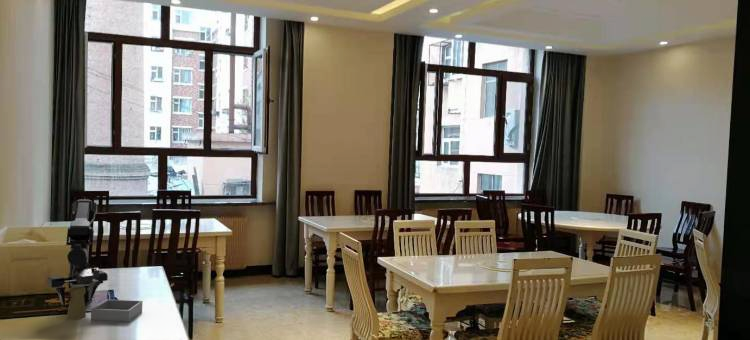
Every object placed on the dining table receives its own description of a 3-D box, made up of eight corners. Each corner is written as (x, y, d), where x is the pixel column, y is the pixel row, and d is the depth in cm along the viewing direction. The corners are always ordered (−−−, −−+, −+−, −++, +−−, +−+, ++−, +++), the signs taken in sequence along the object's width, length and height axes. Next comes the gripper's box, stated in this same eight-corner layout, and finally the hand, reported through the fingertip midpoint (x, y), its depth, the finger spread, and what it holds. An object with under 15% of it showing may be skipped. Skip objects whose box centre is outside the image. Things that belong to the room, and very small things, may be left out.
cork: (71, 314, 200) (72, 284, 199) (88, 314, 200) (90, 284, 200) (63, 319, 194) (64, 288, 193) (81, 319, 194) (82, 288, 194)
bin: (90, 321, 193) (91, 309, 193) (106, 310, 206) (107, 299, 206) (128, 322, 193) (129, 310, 193) (142, 312, 206) (142, 300, 206)
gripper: (58, 266, 184) (56, 312, 184) (115, 260, 198) (113, 303, 198) (46, 260, 191) (45, 305, 192) (102, 255, 205) (100, 296, 206)
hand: (77, 302), depth 197 cm, fingers open, 9 cm apart
